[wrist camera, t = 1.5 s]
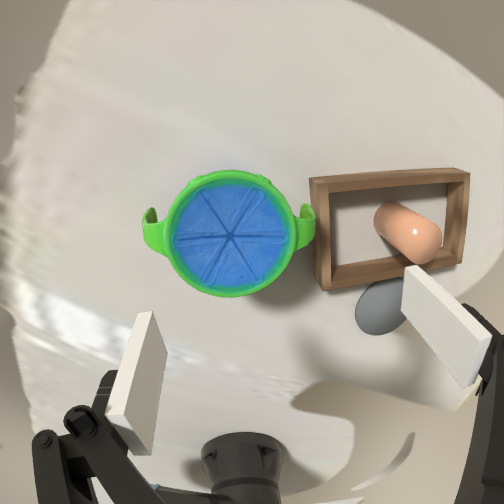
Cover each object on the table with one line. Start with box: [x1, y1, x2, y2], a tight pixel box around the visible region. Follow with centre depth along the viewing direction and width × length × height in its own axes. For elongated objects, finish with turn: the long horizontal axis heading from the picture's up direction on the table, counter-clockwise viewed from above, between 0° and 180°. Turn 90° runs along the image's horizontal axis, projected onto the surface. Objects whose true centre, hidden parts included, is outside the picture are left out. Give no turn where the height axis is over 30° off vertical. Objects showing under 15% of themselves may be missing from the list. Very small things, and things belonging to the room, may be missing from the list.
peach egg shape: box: [374, 201, 442, 264], centre depth 33 cm, size 5×5×8 cm
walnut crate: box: [309, 168, 470, 291], centre depth 35 cm, size 12×20×4 cm, turn 97°
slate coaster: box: [355, 277, 406, 335], centre depth 41 cm, size 9×9×1 cm
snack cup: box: [142, 170, 316, 298], centre depth 30 cm, size 16×11×10 cm
